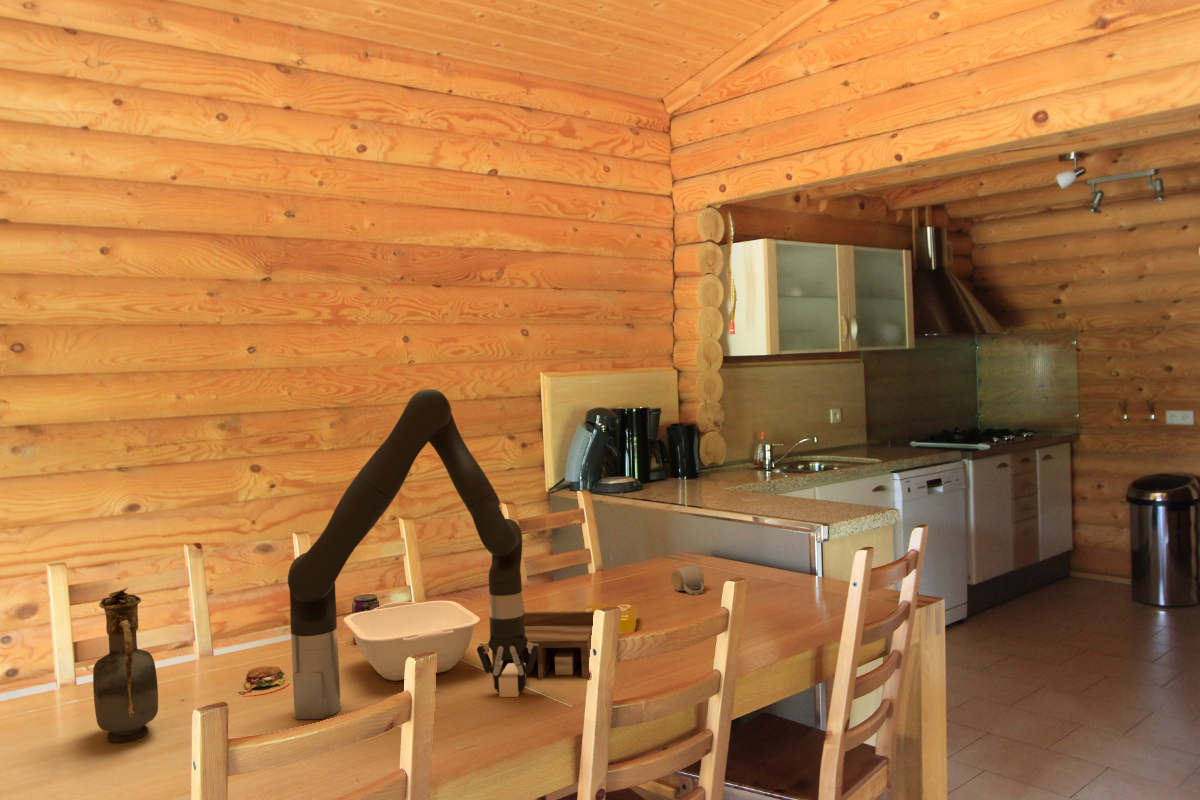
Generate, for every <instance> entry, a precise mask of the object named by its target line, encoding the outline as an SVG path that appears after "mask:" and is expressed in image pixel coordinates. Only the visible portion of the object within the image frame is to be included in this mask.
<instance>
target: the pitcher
mask: <svg viewBox="0 0 1200 800" xmlns="http://www.w3.org/2000/svg"><path fill="white" fill-rule="evenodd" d="M128 588H129V586H126V587H125V588H124V589H120V590H116V591H113V592H111V593H109V594H108V597H105V598H102V599H101V600H100V602H99V605H98V606H99V607H100V608H101V609H103V610H104V613H105V620H106V634H107V635H108V648H109V651H108V652H109V653H108V654H106V655H104V656H102V657H101V658H100V659H98V660H97V661H96V662H95V663H94V666H93V669H92V671H93V672H92V685H93V686H92V687H93V691H92V692H93V701H94V712H95V718H96V724H97V726H98V727H99V729H100V730H102V731H106V732H108V733H107V737H106V738H107V740H108V742H110V743H114V744H115V743H116V744H120V743H121V744H123V743H128V742H127V741H129V742H133V741H136V740H139V739H141V738H142V737H145V736H146V735H147V734H148V732H149V727H148V726H147V724H149V723H150V722H151V721H153V720H154V719H155V717H156V716H157V714H158V711H159V689H158V687H159V685H158V677H157V676H158V675H157V670H156V665H155V660H154V658H153V656H152V654H151V653H150V652H149V651H147V650H143V649H139V648H138V642H137V641H138V639H137V631H138V630H139V614H138V612H139V611H138V609H139V608H138V607H139V606H138V605H139V604H140V603H141V602H142V598H141V597H140V596H137V595H135V594H129V593H127V592H125V591H126V590H127V589H128ZM144 735H145V736H144ZM140 737H141V738H140ZM135 739H136V740H135ZM132 740H133V741H132Z"/></svg>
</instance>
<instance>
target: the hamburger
mask: <svg viewBox="0 0 1200 800" xmlns="http://www.w3.org/2000/svg"><path fill="white" fill-rule="evenodd" d="M284 675H285V672H284V671H282V669H281V667H279V666H277V665H276V666H274V665H273V666H272V665H270V666H266V665H265V666H258V667H254V668H251V669H250V670H248V672H247V674H246V675H245V680H244V684H245V686H244V687H245V688H246V691H243V690H242V691H238V694H240V693H242V695H241V697H243V698H244V697H246V698H247V697H248V698H249V697H251V698H252V697H259V696H265V695H269V694H274V693H277V692H280V691H282V690H284V689H286V688H287V687H289V686H290V685H291V683H290V682H289V683H287V684H286V685H284V686H283V687H281V688H279V689H275V690H272V691H270V692H265V693H259V694H254V695H253V694H251V695H246V694H249V693H252V692H253V688H259V689H261V688H266V687H270V686H275V685H276V684H277V685H279V686H282V684H283V682H284Z"/></svg>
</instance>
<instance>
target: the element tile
mask: <svg viewBox="0 0 1200 800" xmlns="http://www.w3.org/2000/svg"><path fill="white" fill-rule="evenodd" d="M606 607H619V608H620V610H621V624H620V632H631V631H635V632H636V630H635V628H637V623H636V620H638V613H637V606H636V605H634V604H612V605H611V604H610V605H606V604H605V605H584V607H583V608H582V609H581V611H593V612H594V610H595V609H598V608H606Z"/></svg>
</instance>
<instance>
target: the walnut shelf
mask: <svg viewBox="0 0 1200 800" xmlns="http://www.w3.org/2000/svg"><path fill="white" fill-rule="evenodd" d="M593 615H594V612H593V611H582V610H581V611H573V610H572V611H524V622H525V636H526V638H527V640H528V642H531V643H534V644H535V643H539V645H540V646H539V650H538V653H537V657H536V660H535V662H537V674H538V675H537V676H538V679H543V678H544V676H545V675H546V673H547V671H548V669H549V667H550V665H551V662H552V661H553V662H554V671H555V673H554V674H555V675H574V673H575V669H576V666H577V665H578V662H579V661H581V678H582V679H589V678H590V676H589V657H590V649H591V635H592V626H593ZM530 655H531V654H530V653H529V652H528V648H527V647H526V648H525V649H524V651H523V652H522V656H523V662H529V658H530ZM491 656H492V657H491V660H492V661H491V663H492V665H493V666H495V660H496V655H495V654H494V652H493V651H492V650H491ZM511 662H514V660H503V662H502V667H501V671H500V673H502V672H503V670H504V669H505V667H506V666H507V664H508V663H511ZM492 675H493V674H492ZM492 678H493V680H494V675H493V676H492Z"/></svg>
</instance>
